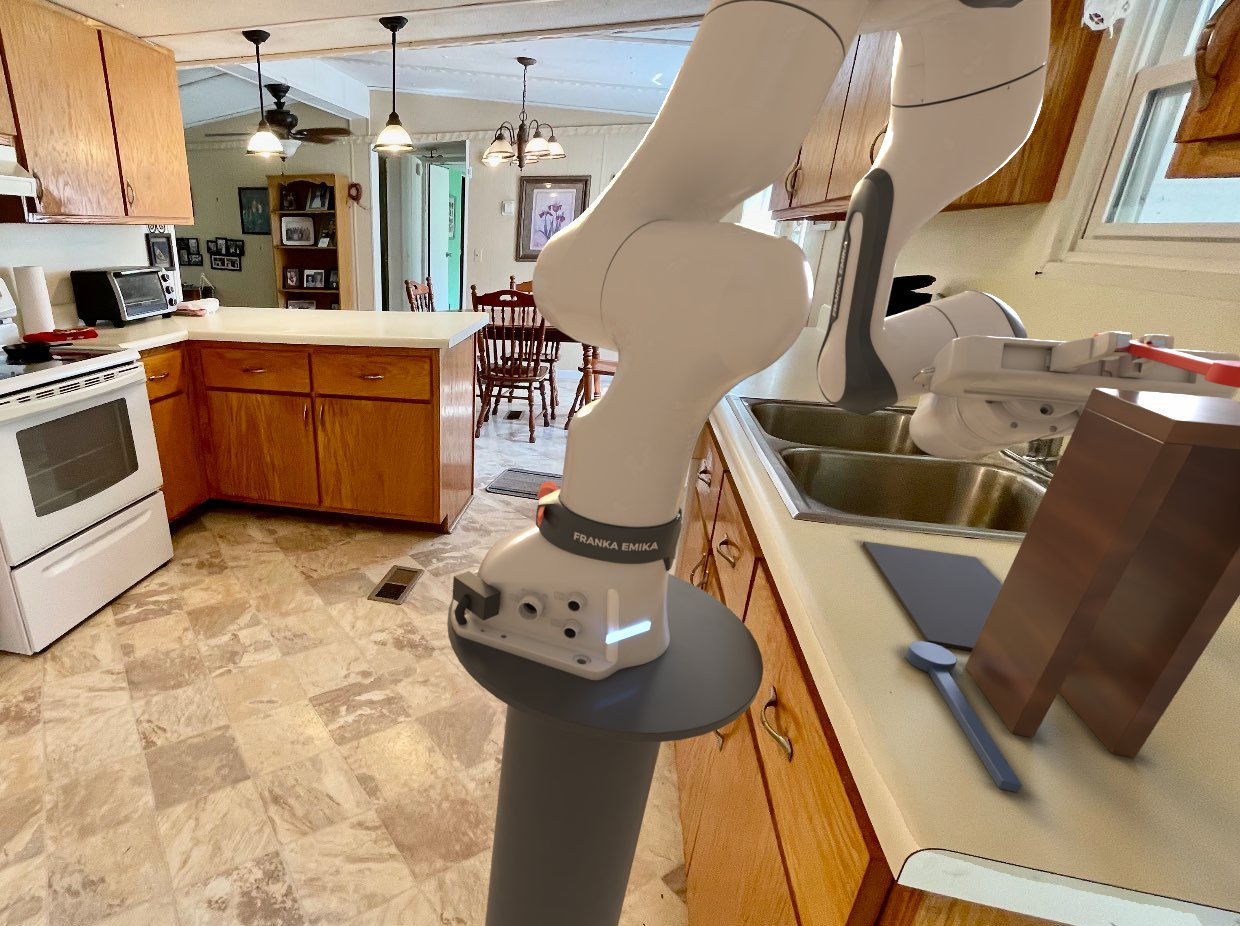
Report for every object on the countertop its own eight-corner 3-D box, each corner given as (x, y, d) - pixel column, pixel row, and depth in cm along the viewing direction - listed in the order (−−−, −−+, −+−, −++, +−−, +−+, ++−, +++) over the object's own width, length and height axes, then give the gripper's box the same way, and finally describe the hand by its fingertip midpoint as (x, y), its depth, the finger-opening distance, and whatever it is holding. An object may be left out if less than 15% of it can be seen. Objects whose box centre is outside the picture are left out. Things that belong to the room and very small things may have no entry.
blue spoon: (1038, 797, 47) (1045, 785, 46) (978, 784, 48) (985, 772, 47) (943, 655, 62) (948, 645, 61) (899, 647, 63) (903, 637, 62)
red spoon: (1072, 341, 56) (1079, 327, 55) (1125, 345, 55) (1132, 330, 54) (1231, 388, 41) (1242, 369, 40) (1306, 394, 40) (1319, 375, 39)
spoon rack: (1011, 733, 53) (1176, 420, 42) (964, 666, 60) (1093, 387, 49) (1135, 758, 50) (1343, 434, 39) (1070, 685, 58) (1228, 398, 47)
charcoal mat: (927, 643, 64) (928, 640, 63) (862, 544, 83) (863, 541, 82) (1078, 669, 60) (1080, 666, 60) (974, 559, 79) (976, 556, 79)
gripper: (908, 353, 67) (987, 294, 54) (1158, 372, 62) (1315, 312, 48) (900, 413, 67) (978, 369, 53) (1151, 437, 61) (1308, 395, 48)
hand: (1141, 342), depth 51 cm, fingers closed on red spoon, 1 cm apart
